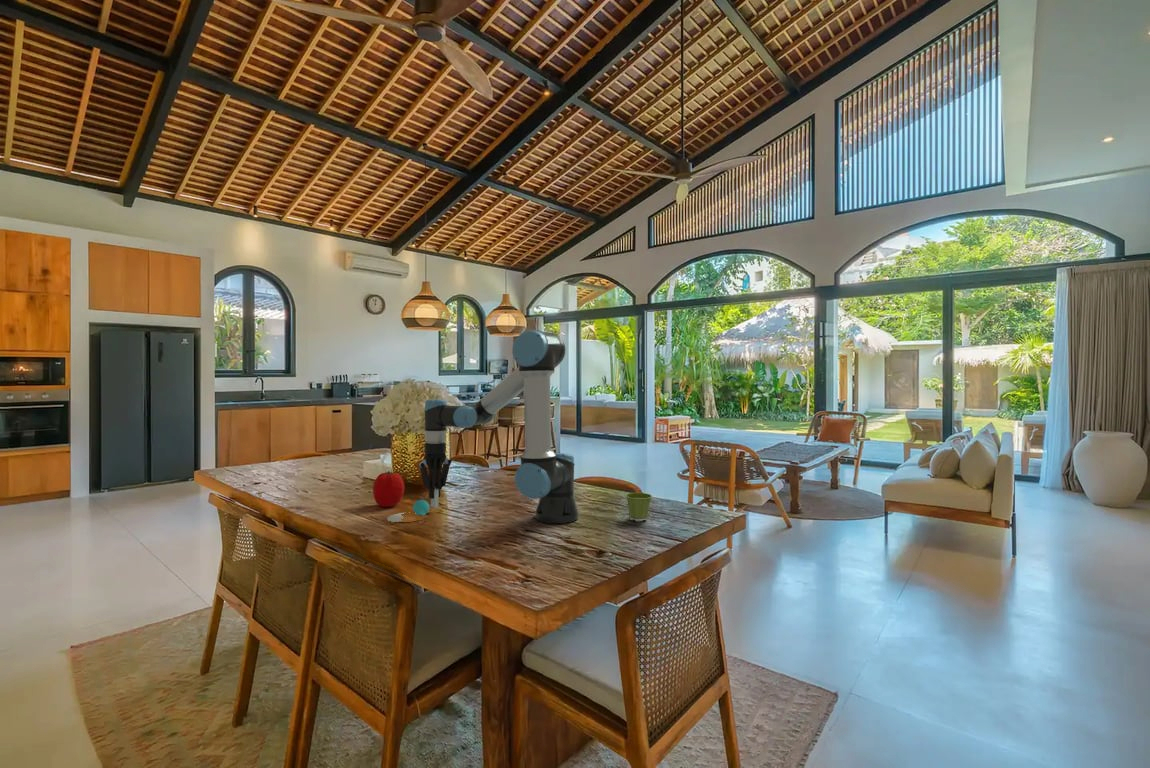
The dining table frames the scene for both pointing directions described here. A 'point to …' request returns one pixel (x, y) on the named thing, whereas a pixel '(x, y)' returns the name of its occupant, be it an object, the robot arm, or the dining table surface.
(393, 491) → the tomato
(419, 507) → the ball
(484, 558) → the dining table surface
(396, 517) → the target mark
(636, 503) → the plant pot
